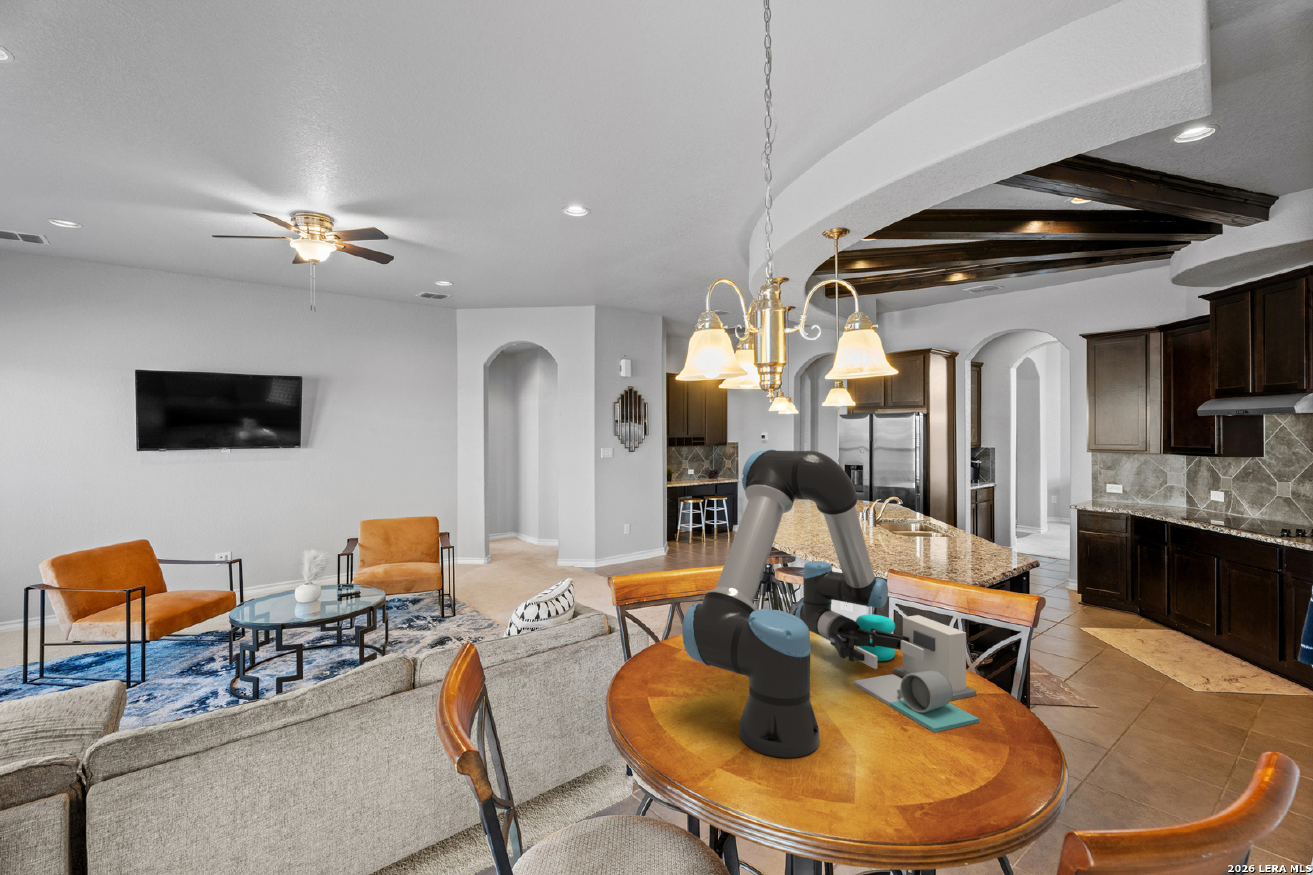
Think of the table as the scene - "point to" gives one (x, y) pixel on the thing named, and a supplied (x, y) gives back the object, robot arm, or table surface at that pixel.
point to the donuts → (882, 625)
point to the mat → (932, 719)
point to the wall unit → (937, 652)
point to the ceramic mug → (925, 691)
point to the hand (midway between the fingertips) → (900, 658)
